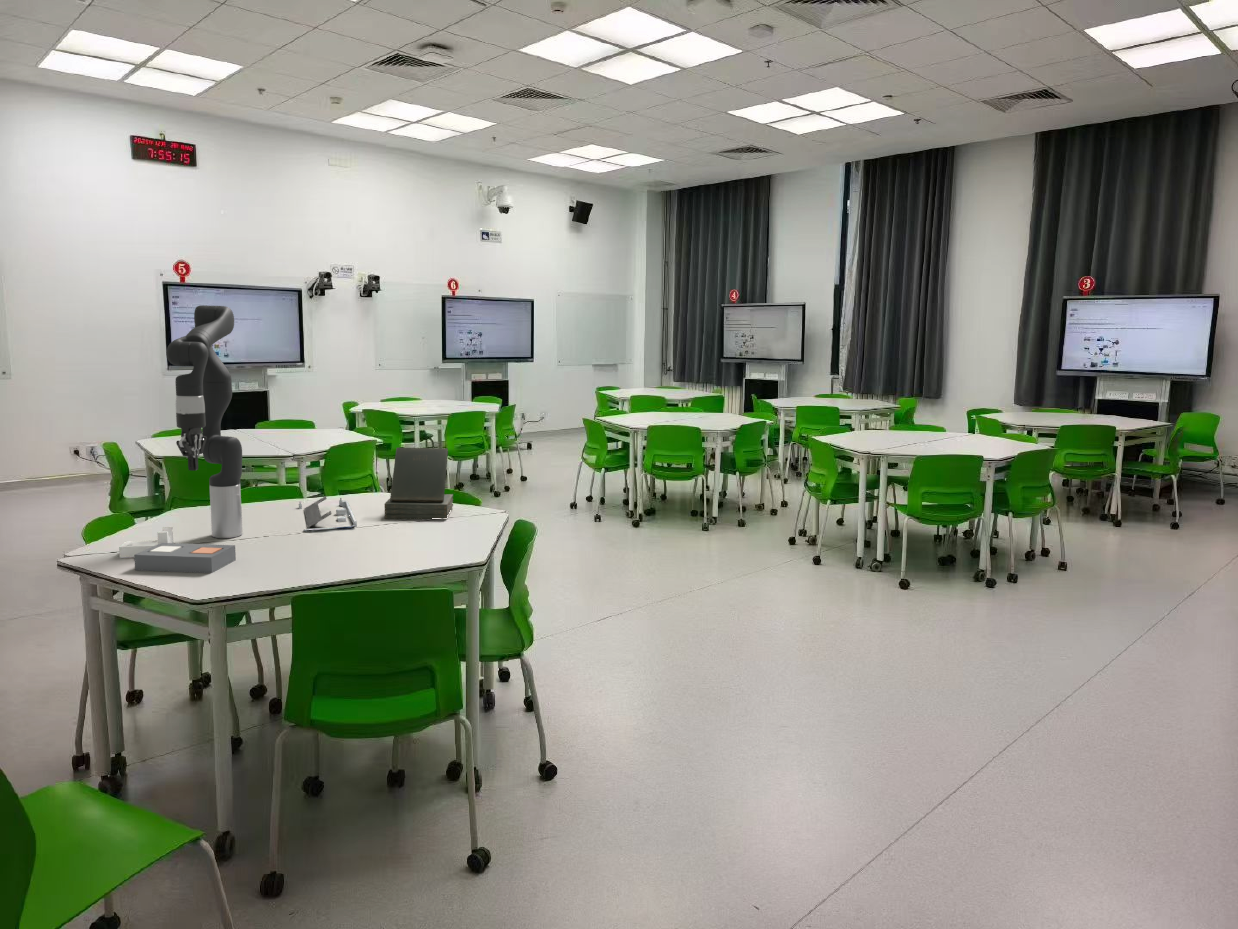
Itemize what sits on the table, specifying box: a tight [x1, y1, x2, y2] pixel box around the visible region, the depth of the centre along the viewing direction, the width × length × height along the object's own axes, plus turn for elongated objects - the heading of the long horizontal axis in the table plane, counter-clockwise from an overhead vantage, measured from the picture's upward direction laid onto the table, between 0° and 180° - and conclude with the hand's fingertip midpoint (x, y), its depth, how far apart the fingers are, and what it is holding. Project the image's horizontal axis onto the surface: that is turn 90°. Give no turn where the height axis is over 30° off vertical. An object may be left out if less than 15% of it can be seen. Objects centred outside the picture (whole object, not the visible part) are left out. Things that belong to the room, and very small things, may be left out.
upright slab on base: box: [384, 447, 454, 520], centre depth 318 cm, size 23×20×25 cm
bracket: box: [118, 526, 174, 559], centre depth 252 cm, size 13×7×8 cm, turn 106°
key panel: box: [133, 542, 237, 574], centre depth 242 cm, size 14×22×4 cm, turn 89°
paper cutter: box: [298, 495, 358, 531], centre depth 307 cm, size 18×45×6 cm, turn 23°
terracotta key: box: [191, 547, 222, 554], centre depth 241 cm, size 6×6×4 cm
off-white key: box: [149, 546, 182, 553], centre depth 242 cm, size 6×6×4 cm
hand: (193, 470), depth 244 cm, fingers closed
